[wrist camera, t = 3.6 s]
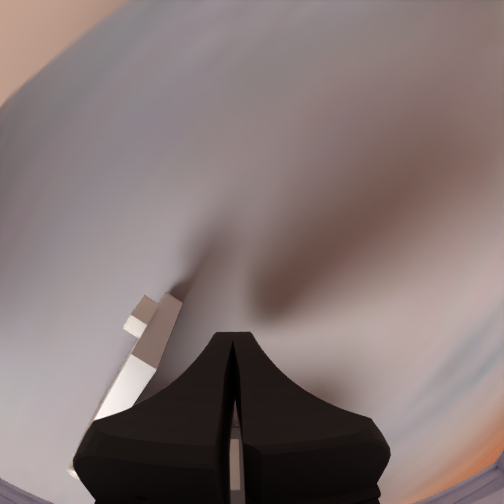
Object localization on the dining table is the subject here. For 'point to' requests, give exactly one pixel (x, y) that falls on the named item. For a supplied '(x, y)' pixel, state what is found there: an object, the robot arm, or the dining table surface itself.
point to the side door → (138, 357)
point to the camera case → (236, 468)
